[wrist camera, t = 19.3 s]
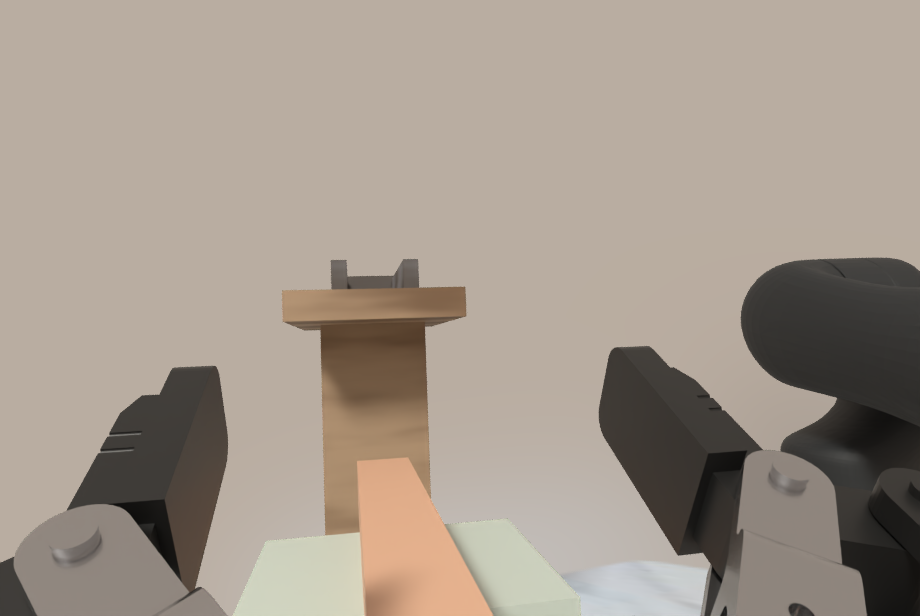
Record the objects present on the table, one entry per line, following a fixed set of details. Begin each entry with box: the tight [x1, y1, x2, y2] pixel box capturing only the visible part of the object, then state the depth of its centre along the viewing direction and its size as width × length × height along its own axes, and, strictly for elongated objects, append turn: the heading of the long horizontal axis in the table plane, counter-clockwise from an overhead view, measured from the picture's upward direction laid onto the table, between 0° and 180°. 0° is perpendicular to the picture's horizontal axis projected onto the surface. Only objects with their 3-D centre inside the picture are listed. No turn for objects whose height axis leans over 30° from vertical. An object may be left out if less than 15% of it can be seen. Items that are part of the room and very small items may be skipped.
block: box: [357, 457, 493, 616], centre depth 24 cm, size 22×3×2 cm, turn 10°
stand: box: [282, 259, 466, 536], centre depth 48 cm, size 20×16×34 cm
